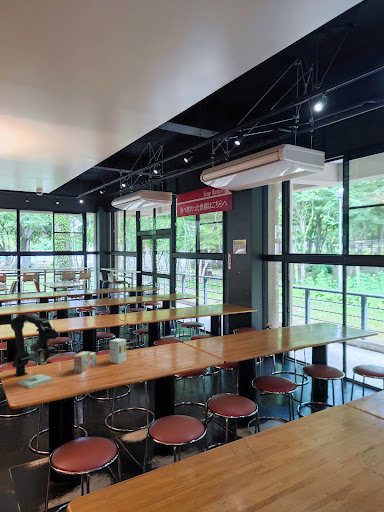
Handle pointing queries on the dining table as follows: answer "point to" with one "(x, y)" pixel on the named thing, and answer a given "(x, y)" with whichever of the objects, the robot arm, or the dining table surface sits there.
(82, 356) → the beige multicoloured rectangular block
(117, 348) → the supplement box
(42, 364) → the peg
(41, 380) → the board
